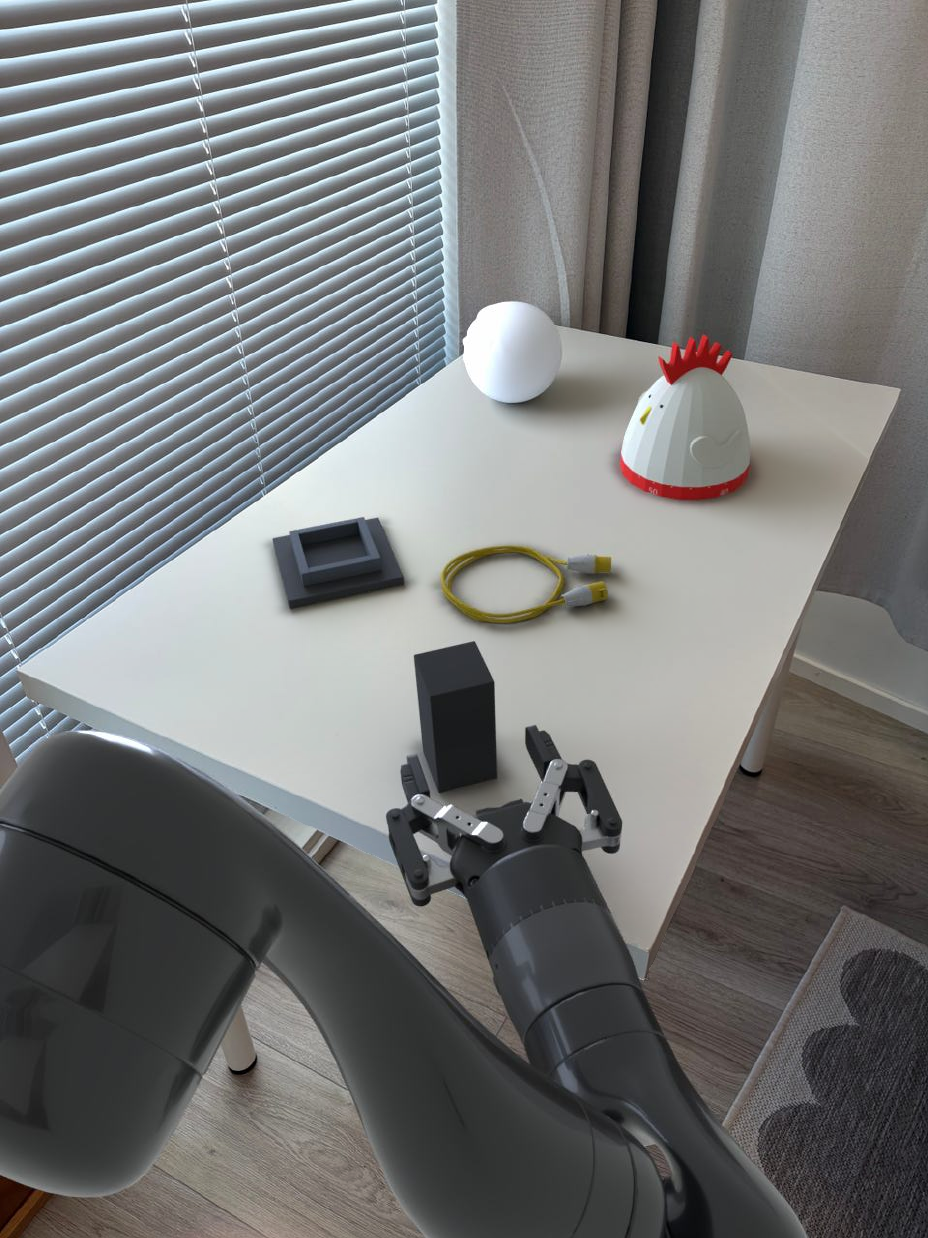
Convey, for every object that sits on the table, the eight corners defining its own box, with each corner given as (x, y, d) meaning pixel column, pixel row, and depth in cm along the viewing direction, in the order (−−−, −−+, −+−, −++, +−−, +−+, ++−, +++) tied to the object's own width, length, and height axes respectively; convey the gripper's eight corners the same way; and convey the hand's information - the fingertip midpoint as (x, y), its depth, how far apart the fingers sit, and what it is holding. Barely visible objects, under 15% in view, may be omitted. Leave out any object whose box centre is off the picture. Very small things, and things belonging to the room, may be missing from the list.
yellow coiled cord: (580, 650, 82) (581, 633, 81) (420, 606, 88) (418, 589, 87) (625, 573, 90) (627, 556, 89) (476, 537, 96) (475, 520, 95)
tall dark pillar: (438, 794, 70) (430, 696, 64) (422, 750, 74) (413, 654, 68) (497, 778, 71) (494, 681, 65) (479, 736, 75) (474, 640, 68)
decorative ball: (475, 374, 126) (472, 284, 118) (566, 379, 123) (568, 288, 116) (457, 417, 117) (452, 322, 109) (554, 422, 114) (556, 326, 107)
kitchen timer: (599, 451, 109) (606, 323, 99) (705, 427, 112) (722, 302, 102) (658, 512, 98) (672, 377, 89) (773, 484, 102) (798, 351, 92)
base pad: (290, 609, 88) (285, 588, 87) (273, 545, 97) (269, 525, 95) (404, 585, 90) (402, 564, 89) (379, 525, 99) (376, 504, 97)
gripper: (676, 876, 53) (569, 685, 65) (429, 947, 50) (365, 734, 62) (663, 950, 58) (565, 760, 70) (437, 1019, 55) (376, 808, 67)
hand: (471, 748), depth 66 cm, fingers open, 8 cm apart
